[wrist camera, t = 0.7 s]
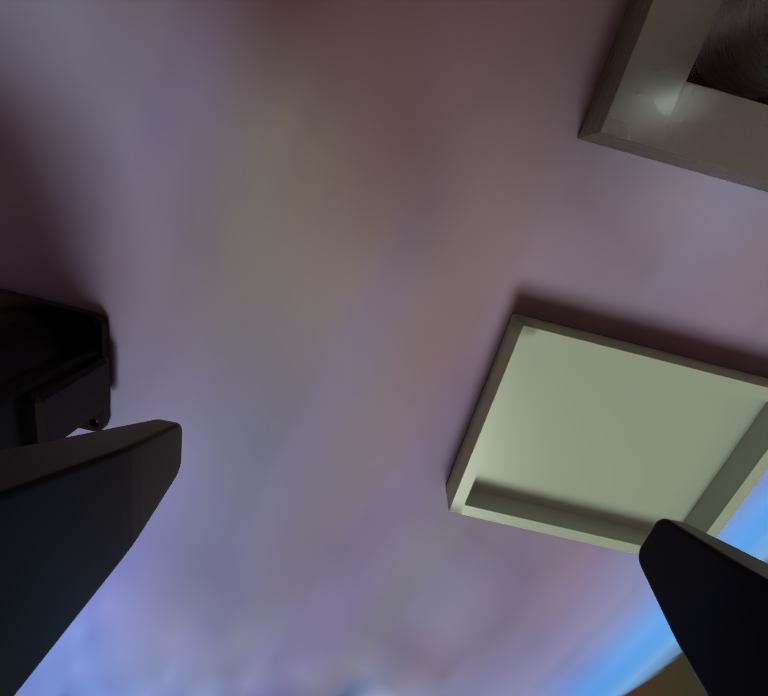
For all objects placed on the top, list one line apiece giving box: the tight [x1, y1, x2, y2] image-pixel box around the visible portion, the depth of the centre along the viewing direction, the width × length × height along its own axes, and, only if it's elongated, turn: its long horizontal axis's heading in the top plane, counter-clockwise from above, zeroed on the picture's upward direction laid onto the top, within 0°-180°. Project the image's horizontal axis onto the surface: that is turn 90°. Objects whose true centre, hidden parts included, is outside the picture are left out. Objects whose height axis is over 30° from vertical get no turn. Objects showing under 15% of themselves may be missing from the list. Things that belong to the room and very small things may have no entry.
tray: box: [446, 313, 768, 555], centre depth 20 cm, size 13×10×2 cm
